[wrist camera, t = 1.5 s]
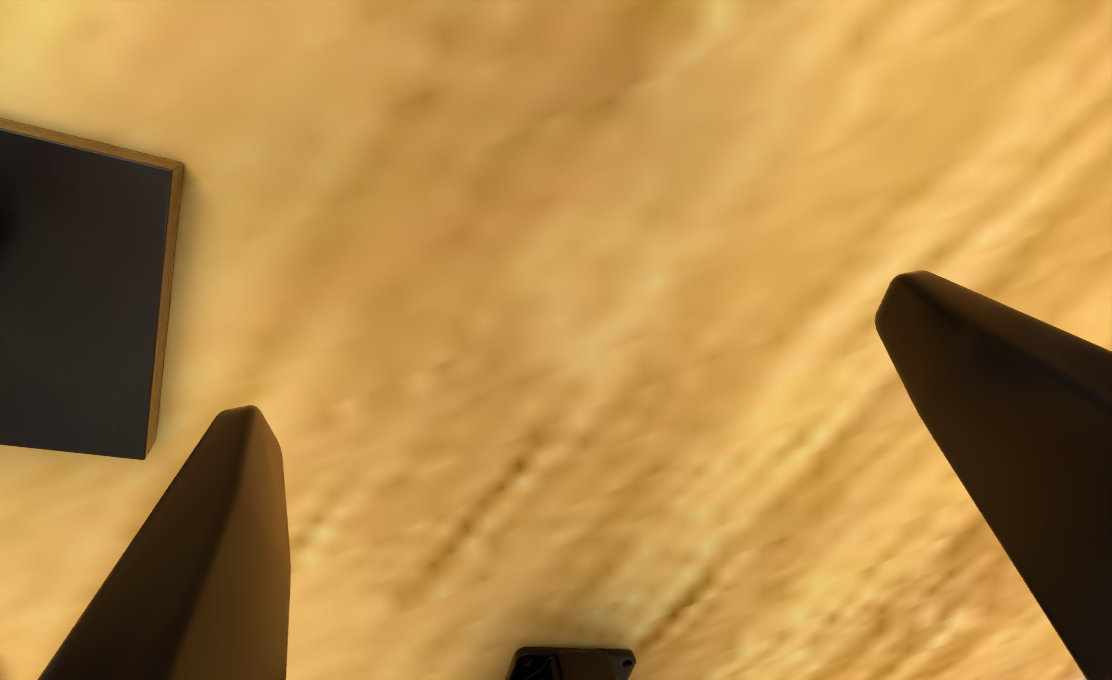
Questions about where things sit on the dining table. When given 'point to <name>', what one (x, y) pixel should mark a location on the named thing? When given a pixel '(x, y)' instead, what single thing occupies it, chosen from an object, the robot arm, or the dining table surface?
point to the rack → (83, 291)
